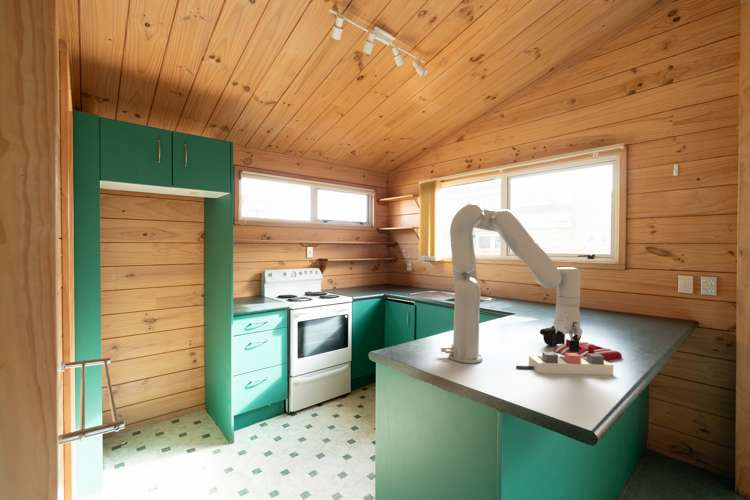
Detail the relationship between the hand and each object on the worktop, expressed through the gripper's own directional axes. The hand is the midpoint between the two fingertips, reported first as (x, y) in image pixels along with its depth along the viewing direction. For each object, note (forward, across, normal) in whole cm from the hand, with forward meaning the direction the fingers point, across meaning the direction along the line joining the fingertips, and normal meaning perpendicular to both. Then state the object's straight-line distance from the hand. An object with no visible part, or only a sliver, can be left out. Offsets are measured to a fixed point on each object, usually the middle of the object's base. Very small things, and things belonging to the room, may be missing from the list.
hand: (566, 347), depth 131 cm
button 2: (+4, +4, 0) cm, 6 cm away
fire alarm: (+8, -16, +17) cm, 25 cm away
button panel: (+7, +3, -3) cm, 8 cm away
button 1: (+4, +4, -8) cm, 10 cm away
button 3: (+4, +4, +8) cm, 10 cm away
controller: (+8, -28, +8) cm, 30 cm away
